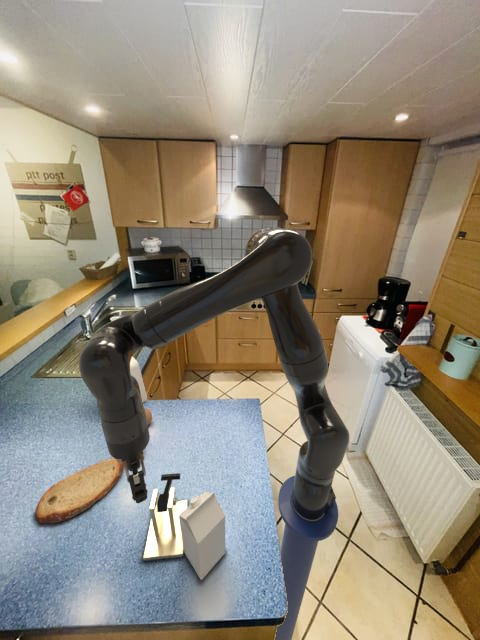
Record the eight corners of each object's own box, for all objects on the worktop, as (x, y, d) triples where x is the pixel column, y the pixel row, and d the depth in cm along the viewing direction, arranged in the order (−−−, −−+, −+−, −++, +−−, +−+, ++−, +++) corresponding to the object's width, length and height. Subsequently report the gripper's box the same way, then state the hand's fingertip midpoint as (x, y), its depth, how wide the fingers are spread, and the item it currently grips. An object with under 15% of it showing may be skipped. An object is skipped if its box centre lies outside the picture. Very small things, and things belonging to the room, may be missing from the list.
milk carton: (225, 553, 60) (225, 504, 52) (201, 581, 55) (196, 532, 47) (207, 527, 64) (204, 480, 57) (183, 551, 60) (176, 503, 52)
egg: (154, 426, 93) (151, 412, 90) (138, 432, 91) (136, 417, 88) (151, 416, 98) (149, 403, 95) (137, 421, 95) (134, 407, 93)
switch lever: (162, 480, 70) (162, 471, 70) (180, 478, 70) (180, 470, 70) (151, 513, 58) (150, 502, 58) (173, 511, 58) (172, 500, 58)
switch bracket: (154, 505, 69) (148, 474, 64) (187, 502, 70) (184, 471, 65) (143, 560, 58) (135, 529, 53) (182, 556, 59) (178, 525, 54)
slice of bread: (127, 461, 80) (125, 453, 79) (96, 526, 64) (93, 518, 62) (72, 459, 81) (69, 451, 79) (27, 523, 64) (22, 515, 63)
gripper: (154, 447, 44) (163, 503, 50) (140, 397, 55) (150, 448, 62) (106, 466, 40) (123, 524, 47) (102, 408, 52) (116, 461, 58)
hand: (138, 481), depth 54 cm, fingers open, 8 cm apart
